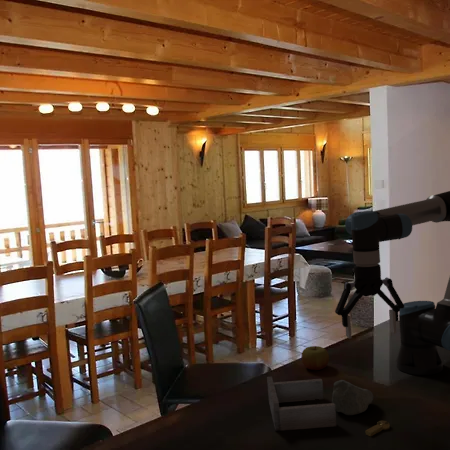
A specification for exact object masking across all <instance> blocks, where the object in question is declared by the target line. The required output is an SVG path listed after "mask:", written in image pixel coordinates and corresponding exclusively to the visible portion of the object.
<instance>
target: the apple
mask: <svg viewBox="0 0 450 450" xmlns="http://www.w3.org/2000/svg"><path fill="white" fill-rule="evenodd" d="M329 361H330V355H329V352H328V351H327V349H326V348H324V347H322V346H317V345H312V346H308V347H305V348H304V349H303V351H302V352H301V363H302V365H303V366H304V367H305V368H306V369H308V370H310V371H320V370H323V369H325V368H326V367H327V366H328V364H329Z"/></svg>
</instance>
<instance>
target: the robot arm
mask: <svg viewBox="0 0 450 450" xmlns="http://www.w3.org/2000/svg"><path fill="white" fill-rule="evenodd" d="M429 222H432V223H434V224H435V223H436V224H438V223H441V222H450V190H449V191H444V192H441V193H437V194H432V195H430V196H428V197H427V198H426V199H424V200H418V201H415V202H411V203H406V204H405V203H404V204H401V205H395V206H391V207H387V208H382V209H378V210H374V211H373V210H366V211H365V210H364V211H355V212H353V213H351V214H349V215H347V218H346V219H345V226H344V227H345V230H346V232H347V234H349V235H350V236H351V239H352V240H351V241H352V253H353V254H352V257H353V264H355V265H354V266H353V273H354V281H353V282H348V281H345V282H344V284H343V291H342V293H341V295H340V298H339V300H338V302H337V306H336V308H335V309H334V312H335V314H337V316H341V322H342V323H341V324H342V326H343V327H344V328H345V336H346V338H348V339H349V340H350V339H353V337H352V323H351V320H352V319H351V316H349V314H350V313H351V312H352V310H353V309H354V307H355V306H356V304H357V303H358V301H359V300H361V299H362V297H369V296H371V297H373V296H374V297H375V296H376V295H378V296H379V297H380V298H381V299H382V301H384V302H385V303H386V304H387V305H388V306H389V308H391V309H389V310H388V316H389V329H390V330H389V331H390V332H391V333H392V334H397V322H399V335H400V346H399V350H398V353H397V357H396V360H395V361H396V368H397V369H398V371H401V372H403V373H405V374H409V375H415V376H431V375H437V374H439V373H441V372H442V371H443V369H444V365H443V362H444V361H443V359H442V357H441V354H440V352H439V349H438V347H439V348H443V349H444V350H447V351H450V276H449V278H448V280H447V284H446V288H445V292H444V296H443V299H442V300H439V301H438V302H436V305H435V302H434V301H431V300H415V301H414V300H413V301H408V302H403V301H402V299H401V297H400V295H399V294H398V292H397V290H396V289H395V287H394V284H393V279H391V278H390V277H385V278H384V279H382V271H381V269H382V268H381V265H380V263H381V255H380V254H381V253H380V243H381V242H389V241H394V240H401V239H405V238H407V237H409V236H410V235H411V234H412V231H413V226H415V225H421V224H425V223H429ZM383 285H384V286H385V287H386V289H387V290H388V293H389V294H390V295H391V297H392V299H393V301H394V302H395V303H394V302H393V301H392V300H391V299H390V298H389V297H388V296H387V295H386V294H385V292H383V291H382V289H381V288H382V286H383ZM353 288H355V291H354V292H353V295H352V296H351V298H350V299H349V297H350V293H351V291H352V290H353ZM348 300H349V301H348Z"/></svg>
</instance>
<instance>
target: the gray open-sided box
mask: <svg viewBox="0 0 450 450" xmlns="http://www.w3.org/2000/svg"><path fill="white" fill-rule="evenodd" d="M266 380H267V395H268V403H269V408H270V413H271V416H272V417H271V418H272V421H273V426H274V431H275V432H278V431H280V432H281V431H292V430H304V429H306V430H307V429H317V428H330V427H337V415H336V409H335V404H334V403H332V402H331V403H317V404H306V405H294V406H293V405H292V406H281V407H280V404H281V403H282V404H283V403H292V402H303V401H304V402H305V401H306V400H307V401H316V400H315V399H319V400H324V399H325V398H324V383H323V379H322V378H315V379H314V378H313V379H303V380H290V381H287V380H286V381H277V382H274V380H273V376H267V377H266ZM307 401H306V402H307Z"/></svg>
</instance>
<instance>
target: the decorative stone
mask: <svg viewBox="0 0 450 450" xmlns="http://www.w3.org/2000/svg"><path fill="white" fill-rule="evenodd" d="M332 390H333V392H332V394H331V397H332V398H331V403H334V404H335V411H337V412H338V413H342V414H344V415H345V416H356V415H358V414H361V413H364V412H366V410H367V409H368V408H369V405H370V404H372V402H373V400H374V394H373V392H372V391H371V390H369V389H367V388H363V387H362V388H361V387H359V386H357V385H354V384H352V383H351V382H349V381H346V380H345V379H340V380H336V381H335V382H334V383H333V389H332Z"/></svg>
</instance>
